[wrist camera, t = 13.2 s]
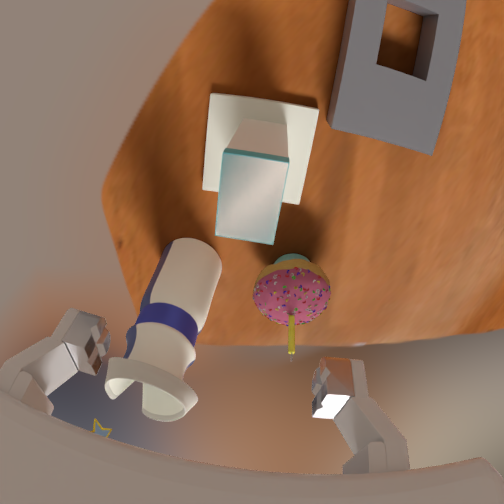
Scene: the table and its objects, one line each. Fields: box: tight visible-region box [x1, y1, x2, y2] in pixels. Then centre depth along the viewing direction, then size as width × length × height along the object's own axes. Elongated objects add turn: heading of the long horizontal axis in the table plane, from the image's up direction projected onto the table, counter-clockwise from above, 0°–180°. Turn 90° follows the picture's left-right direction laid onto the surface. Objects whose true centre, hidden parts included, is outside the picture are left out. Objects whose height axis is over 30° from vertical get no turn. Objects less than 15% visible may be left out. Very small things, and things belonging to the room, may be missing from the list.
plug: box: [215, 118, 290, 245], centre depth 25 cm, size 4×6×11 cm
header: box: [327, 0, 466, 156], centre depth 21 cm, size 10×20×4 cm, turn 172°
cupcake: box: [253, 253, 331, 361], centre depth 34 cm, size 9×8×12 cm
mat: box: [202, 93, 319, 205], centre depth 30 cm, size 10×10×1 cm
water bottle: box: [90, 238, 222, 437], centre depth 30 cm, size 8×8×25 cm
